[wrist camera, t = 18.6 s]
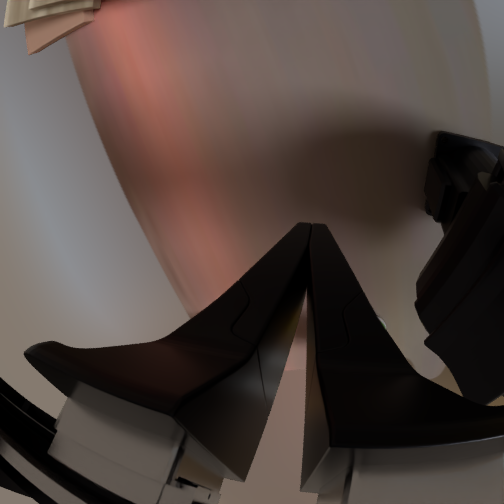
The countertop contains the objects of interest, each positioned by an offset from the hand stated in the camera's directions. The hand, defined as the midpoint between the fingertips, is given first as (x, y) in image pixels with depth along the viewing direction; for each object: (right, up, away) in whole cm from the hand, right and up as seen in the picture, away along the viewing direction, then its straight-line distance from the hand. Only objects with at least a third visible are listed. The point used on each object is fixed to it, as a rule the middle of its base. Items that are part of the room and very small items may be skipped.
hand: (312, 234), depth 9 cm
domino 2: (-16, +21, +6) cm, 27 cm away
